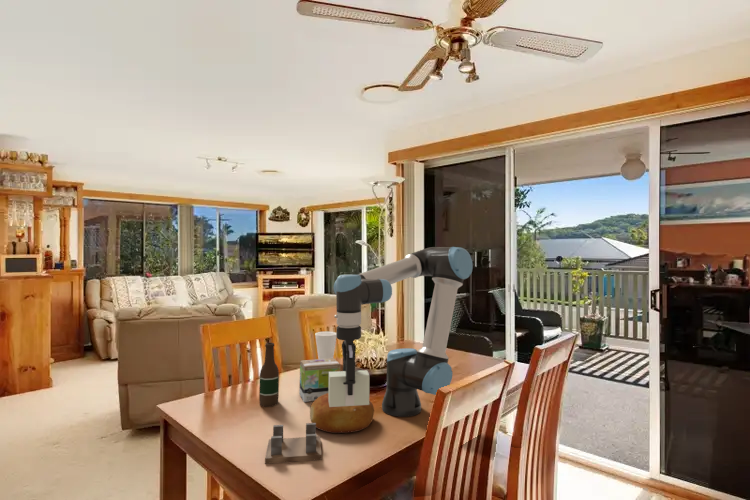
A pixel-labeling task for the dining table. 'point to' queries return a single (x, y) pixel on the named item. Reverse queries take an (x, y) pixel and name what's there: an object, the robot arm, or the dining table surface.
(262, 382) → the beer bottle
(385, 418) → the dining table surface
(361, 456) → the dining table surface
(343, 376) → the cream flat block
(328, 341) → the cup
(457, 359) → the dining table surface
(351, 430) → the bread
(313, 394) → the tea box
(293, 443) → the grey slab holder
